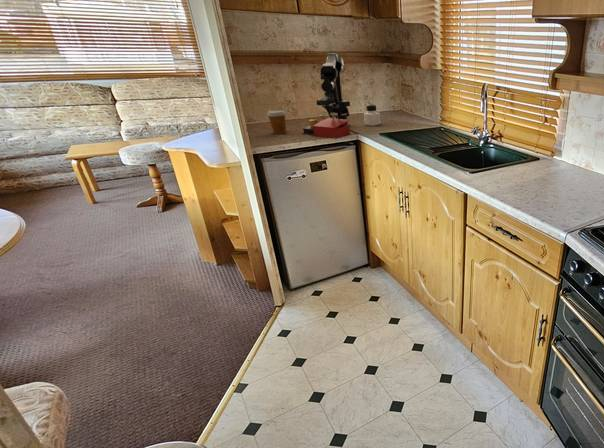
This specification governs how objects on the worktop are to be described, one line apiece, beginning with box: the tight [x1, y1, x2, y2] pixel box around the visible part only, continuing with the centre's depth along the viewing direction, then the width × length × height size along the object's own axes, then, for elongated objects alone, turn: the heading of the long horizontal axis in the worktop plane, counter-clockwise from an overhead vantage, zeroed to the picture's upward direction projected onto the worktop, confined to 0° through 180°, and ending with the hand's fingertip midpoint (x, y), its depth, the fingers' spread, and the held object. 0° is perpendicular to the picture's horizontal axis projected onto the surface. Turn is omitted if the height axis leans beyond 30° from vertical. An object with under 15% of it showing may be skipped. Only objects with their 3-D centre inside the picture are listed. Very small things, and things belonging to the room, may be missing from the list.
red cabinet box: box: [313, 124, 351, 139], centre depth 227 cm, size 13×15×5 cm
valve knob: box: [308, 118, 319, 128], centre depth 231 cm, size 4×4×4 cm
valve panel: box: [302, 125, 314, 136], centre depth 232 cm, size 10×9×3 cm
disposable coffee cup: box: [266, 109, 287, 135], centre depth 228 cm, size 10×10×12 cm
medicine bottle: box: [363, 104, 382, 127], centre depth 253 cm, size 7×7×12 cm
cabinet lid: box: [313, 113, 350, 129], centre depth 225 cm, size 13×15×5 cm
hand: (335, 118), depth 229 cm, fingers closed on cabinet lid, 5 cm apart
